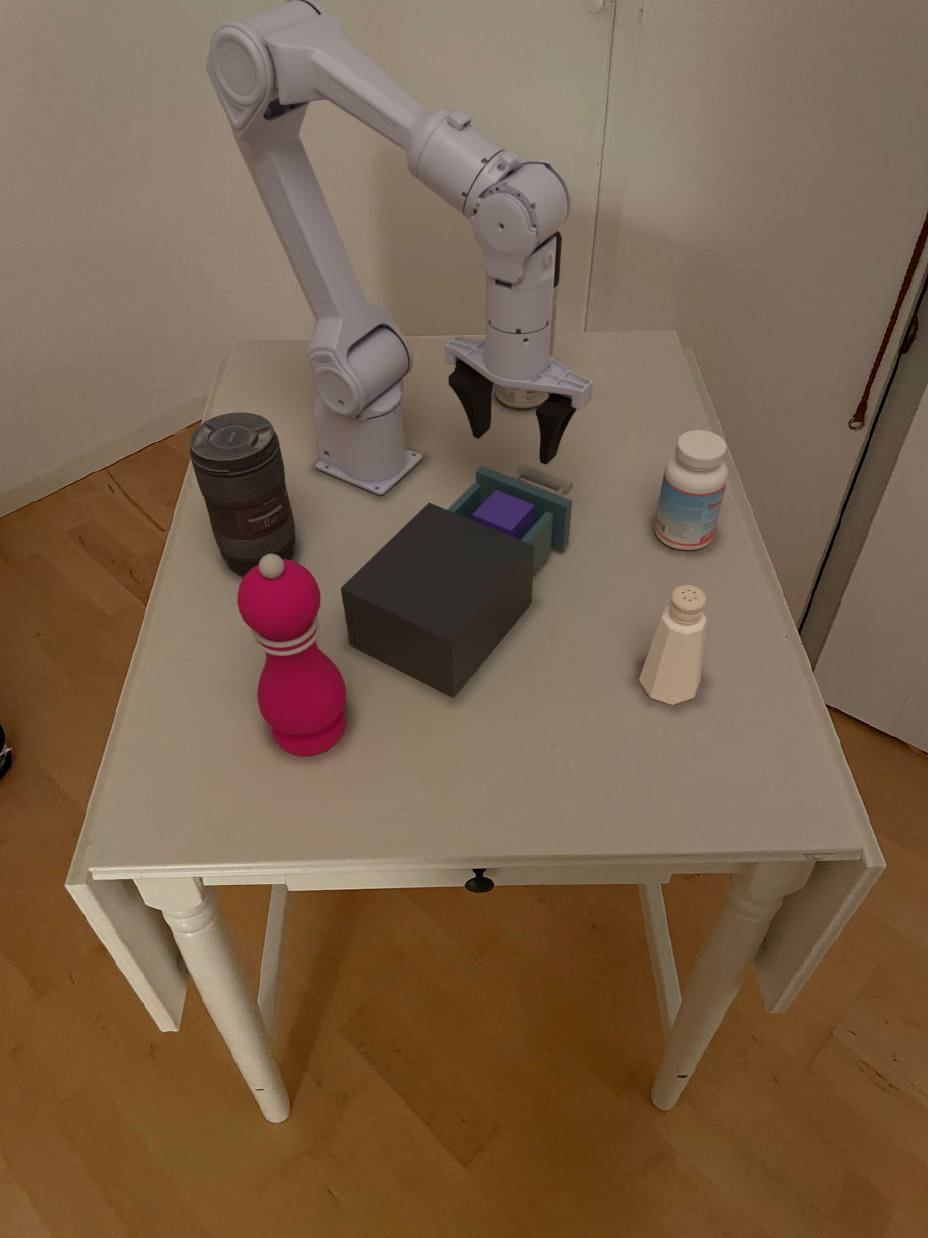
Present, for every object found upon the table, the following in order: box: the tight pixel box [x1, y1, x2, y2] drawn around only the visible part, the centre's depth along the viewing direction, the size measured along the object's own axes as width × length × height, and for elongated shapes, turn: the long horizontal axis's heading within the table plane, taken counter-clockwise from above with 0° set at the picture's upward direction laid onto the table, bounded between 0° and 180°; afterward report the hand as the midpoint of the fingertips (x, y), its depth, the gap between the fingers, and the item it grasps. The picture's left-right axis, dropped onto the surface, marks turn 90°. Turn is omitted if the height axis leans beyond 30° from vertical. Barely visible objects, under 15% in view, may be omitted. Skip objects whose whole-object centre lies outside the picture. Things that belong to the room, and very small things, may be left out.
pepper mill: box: [236, 554, 347, 757], centre depth 71 cm, size 7×7×20 cm
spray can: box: [494, 230, 563, 411], centre depth 105 cm, size 7×7×20 cm
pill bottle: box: [654, 429, 729, 551], centre depth 91 cm, size 6×6×11 cm
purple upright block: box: [472, 490, 534, 540], centre depth 90 cm, size 4×4×4 cm
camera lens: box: [189, 411, 296, 578], centre depth 88 cm, size 8×8×15 cm
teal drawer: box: [446, 462, 574, 575], centre depth 90 cm, size 17×10×6 cm, turn 147°
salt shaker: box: [638, 584, 708, 706], centre depth 77 cm, size 5×5×11 cm
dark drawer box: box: [340, 502, 534, 699], centre depth 84 cm, size 14×12×8 cm
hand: (514, 445), depth 89 cm, fingers open, 7 cm apart
